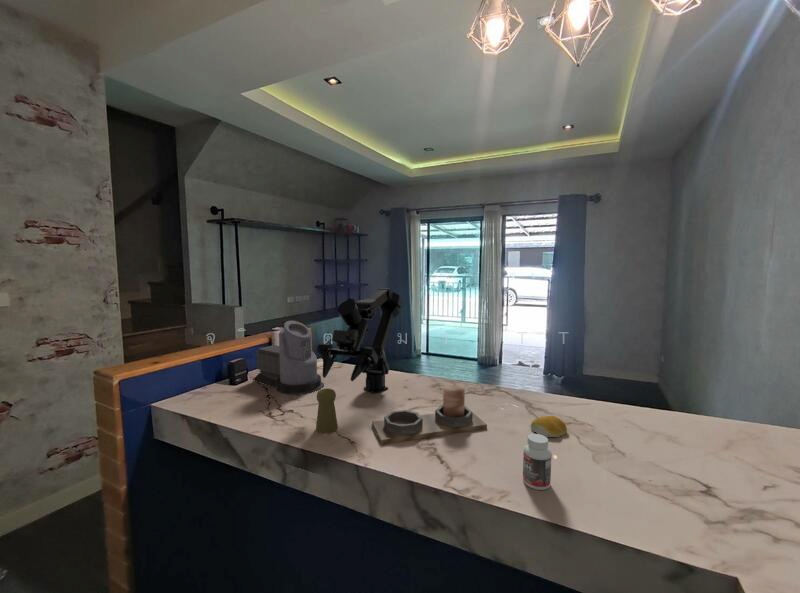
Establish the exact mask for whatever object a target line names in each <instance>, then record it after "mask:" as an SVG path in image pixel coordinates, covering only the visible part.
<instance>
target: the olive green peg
mask: <svg viewBox="0 0 800 593" xmlns="http://www.w3.org/2000/svg"><path fill="white" fill-rule="evenodd" d="M336 398H337V394H336V391H335V390H334V389H332V388H322V389H320V390H318V391H317V393H316V401H317V402H318V408H317V416H316V417H317V418H316V426H315V432H317V433H319V434H325V433H326V434H331V433H332V434H333V433H334V432H337V430H338V429H339V424H338V419H337V413H336V407H335V400H336ZM326 434H325V435H326Z"/></svg>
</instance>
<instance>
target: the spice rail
mask: <svg viewBox="0 0 800 593" xmlns="http://www.w3.org/2000/svg"><path fill="white" fill-rule="evenodd" d="M442 390H443V391H442V394H443V395H442V400H443V401H442V404H441V405H439V406H438V407H437V408H436V409H435V410H434V413H428V414H420V413H419V412H415V411H412V410H411V411H410V410H406V409H401V410H395V411H391V412H389V413H388V414H386V415H384V419H382V420H375V421H372V422H371V426H372V429H373V430H374V432H375V434H376V436H377V438H378V441H379V443H380V444H381V445H387V444H393V443H400V442H407V441H413V440H419V439H425V438H433V437H441V436H446V435H453V434H460V432H461V433H467V432H473V431H479V429H481V430H486V428H487V429H488V424H487V423H486V422H485V421H484V420H482V419H481V418H480V417H479V416H478V415H476V414H475V413H474V412H473V411H472V410H471V409H469V408H468V407H467V406H466V405H465V404H466V402H465V398H466V396H465V395H466V393H465V392H466V389H465V388H464V387H463V386H461V385H460V386H459V385H456V384H455V385H453V384H449V385H445V386H444V387H443V389H442Z"/></svg>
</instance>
